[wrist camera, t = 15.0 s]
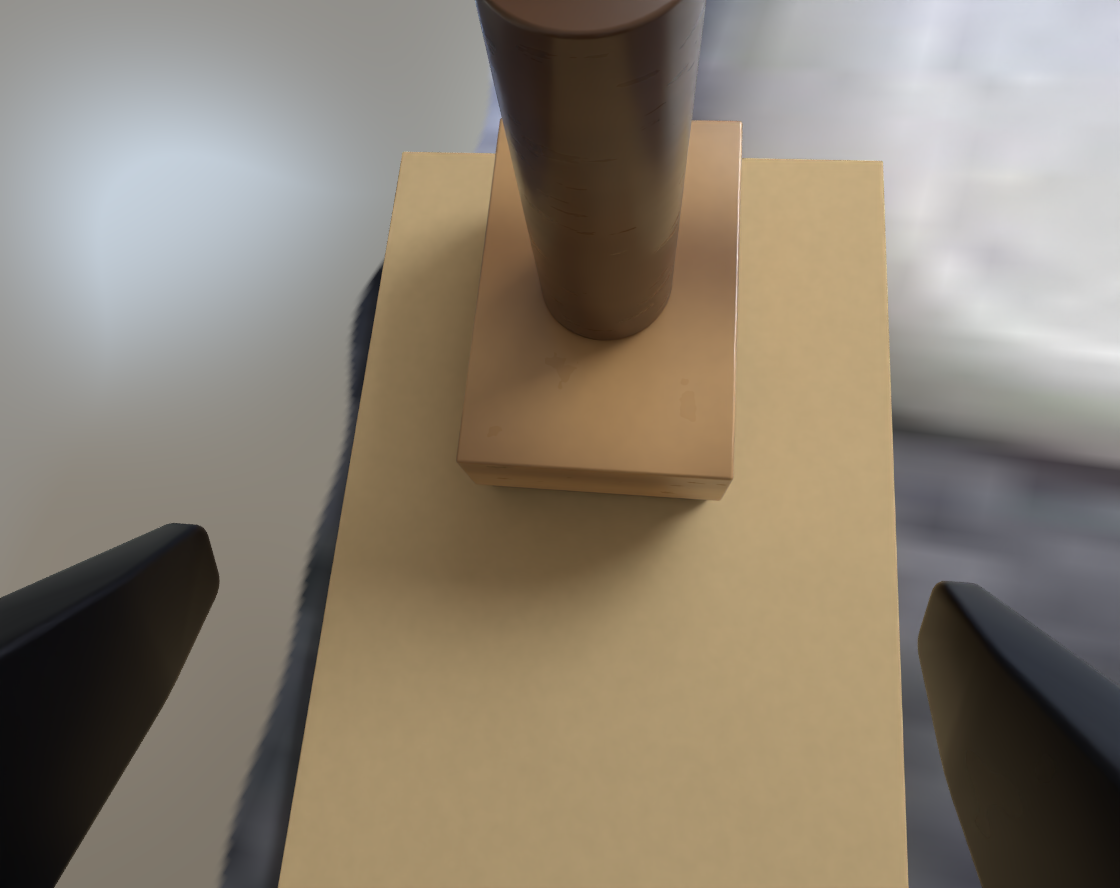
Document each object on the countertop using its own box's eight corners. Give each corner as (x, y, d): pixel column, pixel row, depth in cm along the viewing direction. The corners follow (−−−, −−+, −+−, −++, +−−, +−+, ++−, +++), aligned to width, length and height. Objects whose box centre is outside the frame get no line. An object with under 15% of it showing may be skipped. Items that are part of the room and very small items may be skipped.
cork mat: (910, 1082, 15) (915, 1090, 15) (265, 989, 17) (259, 994, 17) (879, 166, 21) (882, 160, 21) (404, 157, 23) (401, 151, 23)
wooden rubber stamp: (716, 509, 19) (853, 279, 7) (481, 493, 19) (278, 259, 8) (726, 197, 21) (839, -333, 10) (517, 192, 22) (400, -311, 11)
